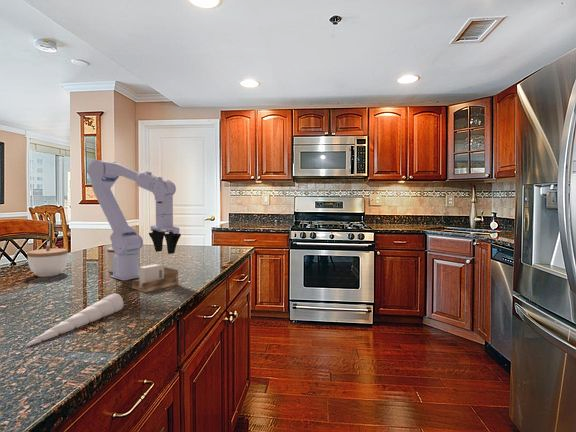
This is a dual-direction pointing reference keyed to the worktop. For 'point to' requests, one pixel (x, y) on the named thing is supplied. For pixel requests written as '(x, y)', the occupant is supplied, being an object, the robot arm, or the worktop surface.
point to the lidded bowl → (47, 261)
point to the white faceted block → (151, 273)
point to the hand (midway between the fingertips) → (164, 252)
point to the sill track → (159, 281)
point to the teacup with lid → (110, 259)
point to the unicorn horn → (84, 317)
